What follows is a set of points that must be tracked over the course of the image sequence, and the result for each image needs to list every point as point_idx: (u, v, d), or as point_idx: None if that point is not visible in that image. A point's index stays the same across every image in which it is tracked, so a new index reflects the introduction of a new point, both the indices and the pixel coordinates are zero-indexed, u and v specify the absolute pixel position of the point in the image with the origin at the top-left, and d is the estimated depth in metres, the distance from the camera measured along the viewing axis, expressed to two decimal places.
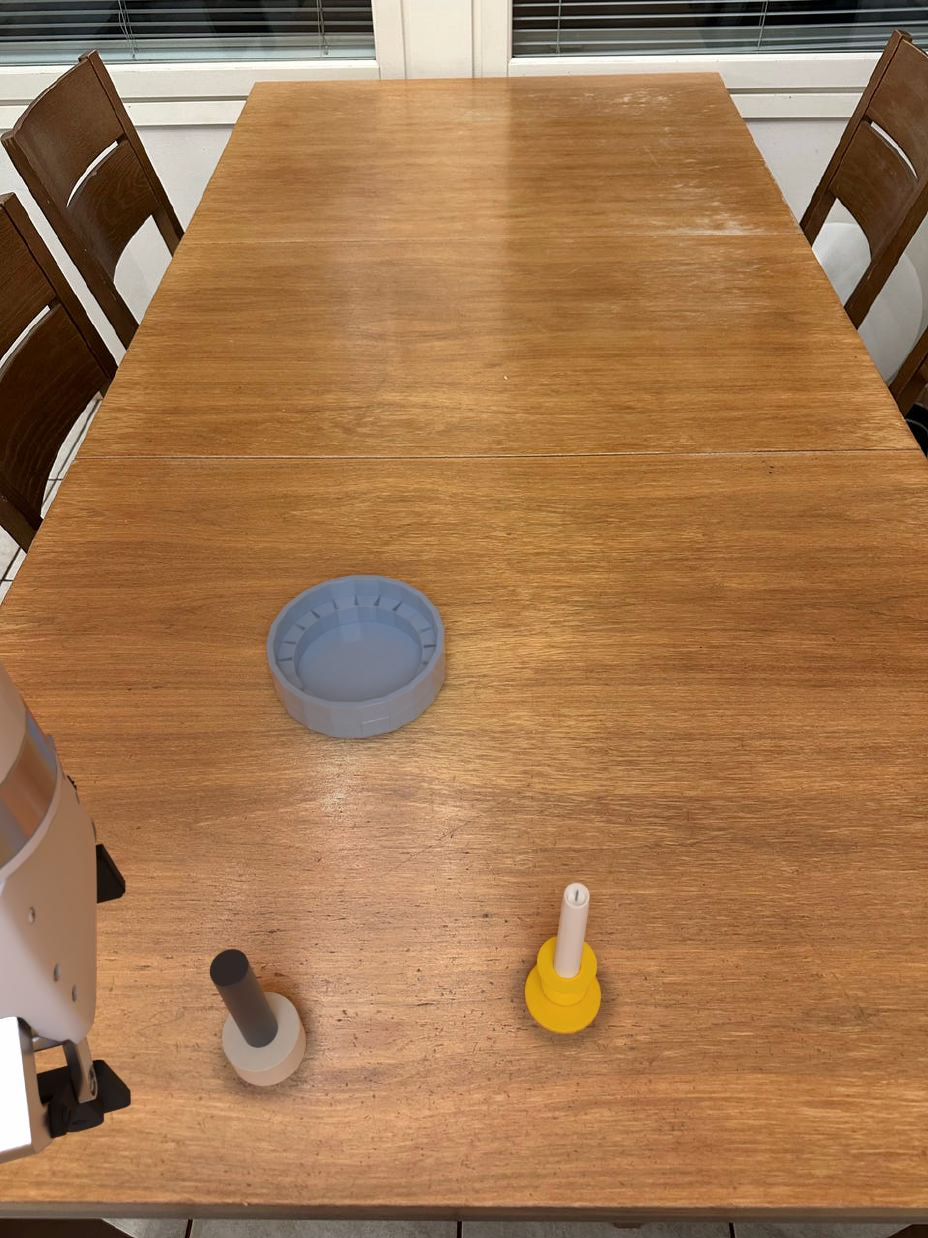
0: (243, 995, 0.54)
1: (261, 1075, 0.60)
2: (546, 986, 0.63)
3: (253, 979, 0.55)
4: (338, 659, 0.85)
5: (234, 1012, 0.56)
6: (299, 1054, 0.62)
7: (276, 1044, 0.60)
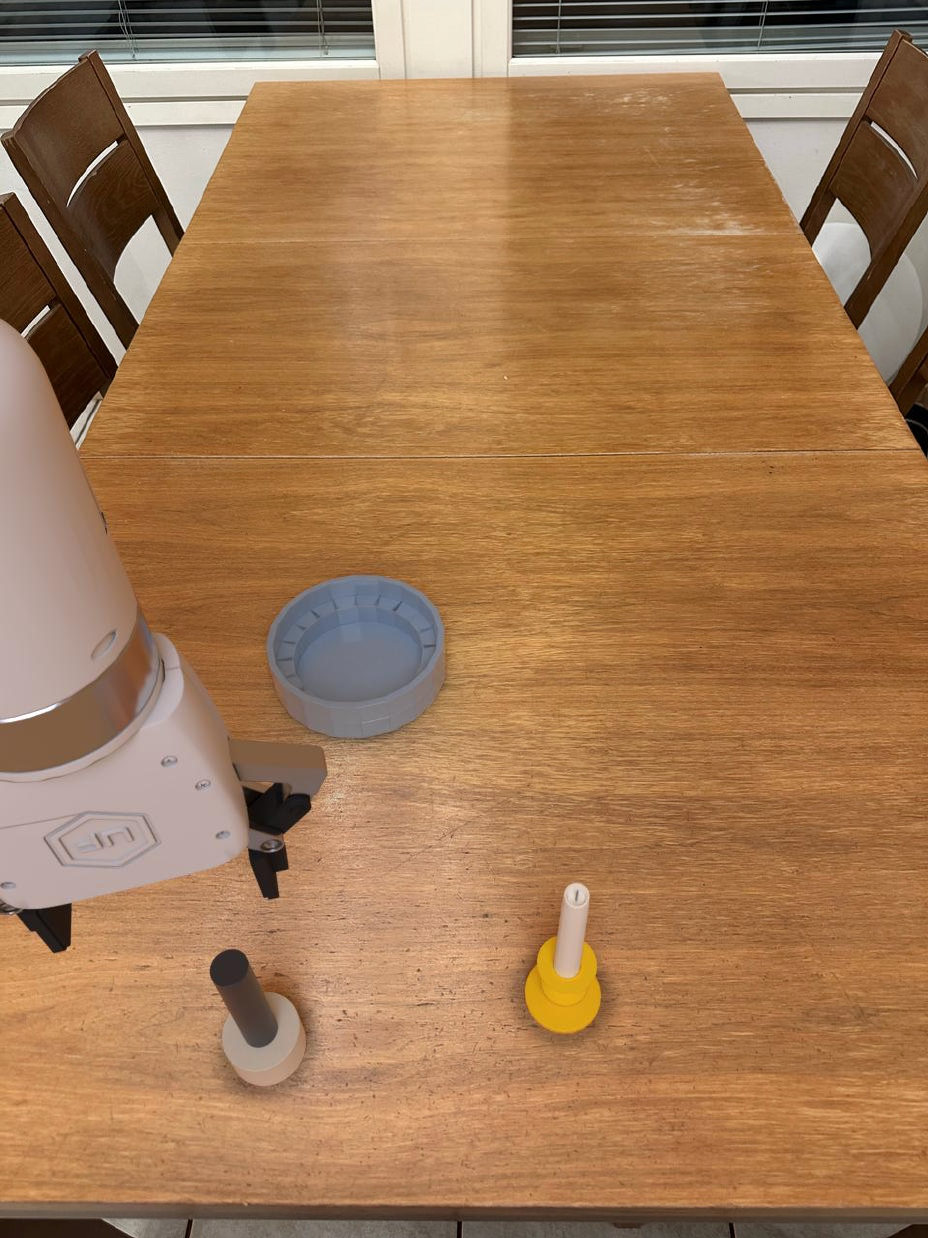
0: (243, 995, 0.54)
1: (261, 1075, 0.60)
2: (546, 986, 0.63)
3: (253, 979, 0.55)
4: (338, 659, 0.85)
5: (234, 1012, 0.56)
6: (299, 1054, 0.62)
7: (276, 1044, 0.60)
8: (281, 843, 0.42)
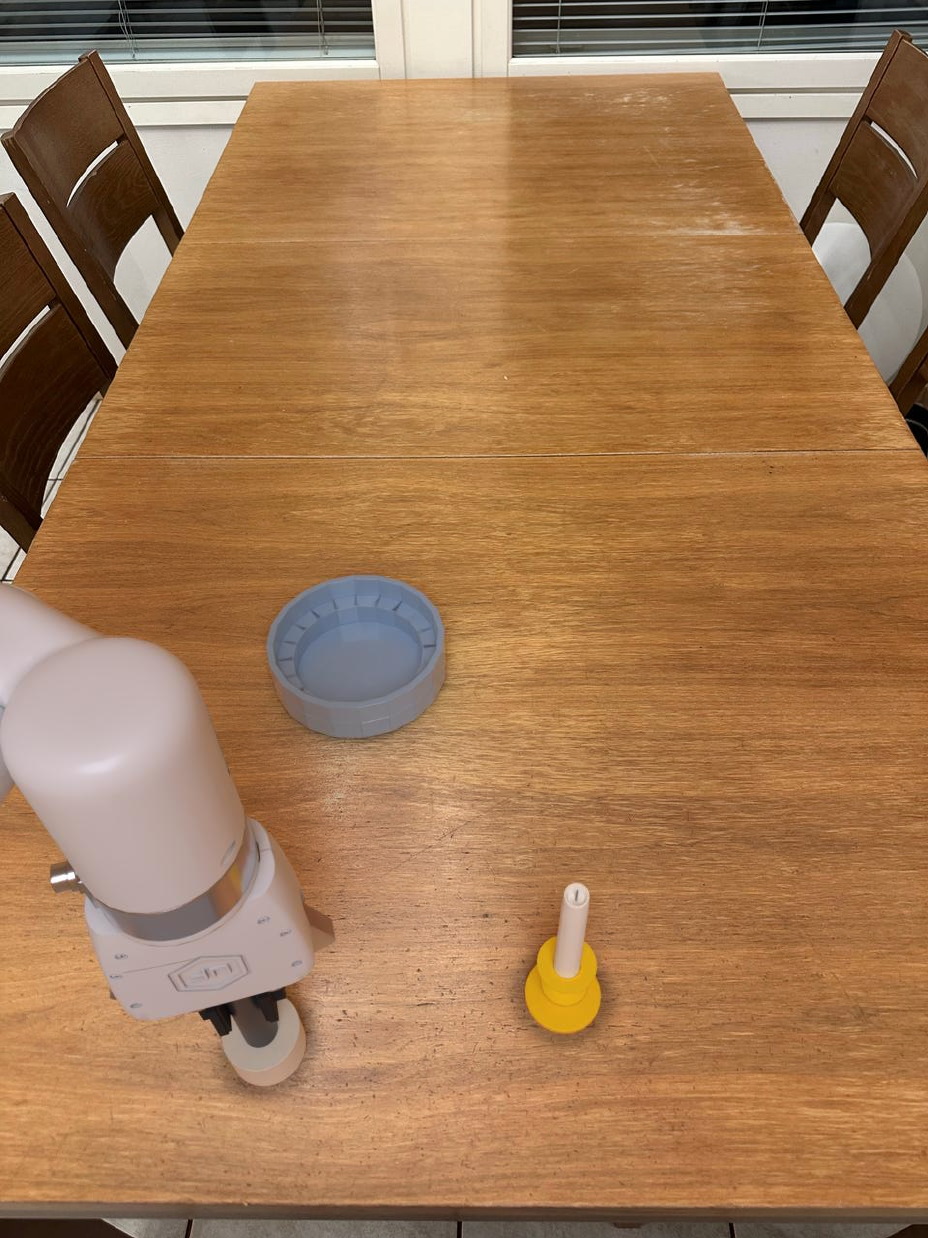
0: None
1: (261, 1075, 0.60)
2: (546, 986, 0.63)
3: None
4: (338, 659, 0.85)
5: (234, 1012, 0.56)
6: (299, 1054, 0.62)
7: (276, 1044, 0.60)
8: None
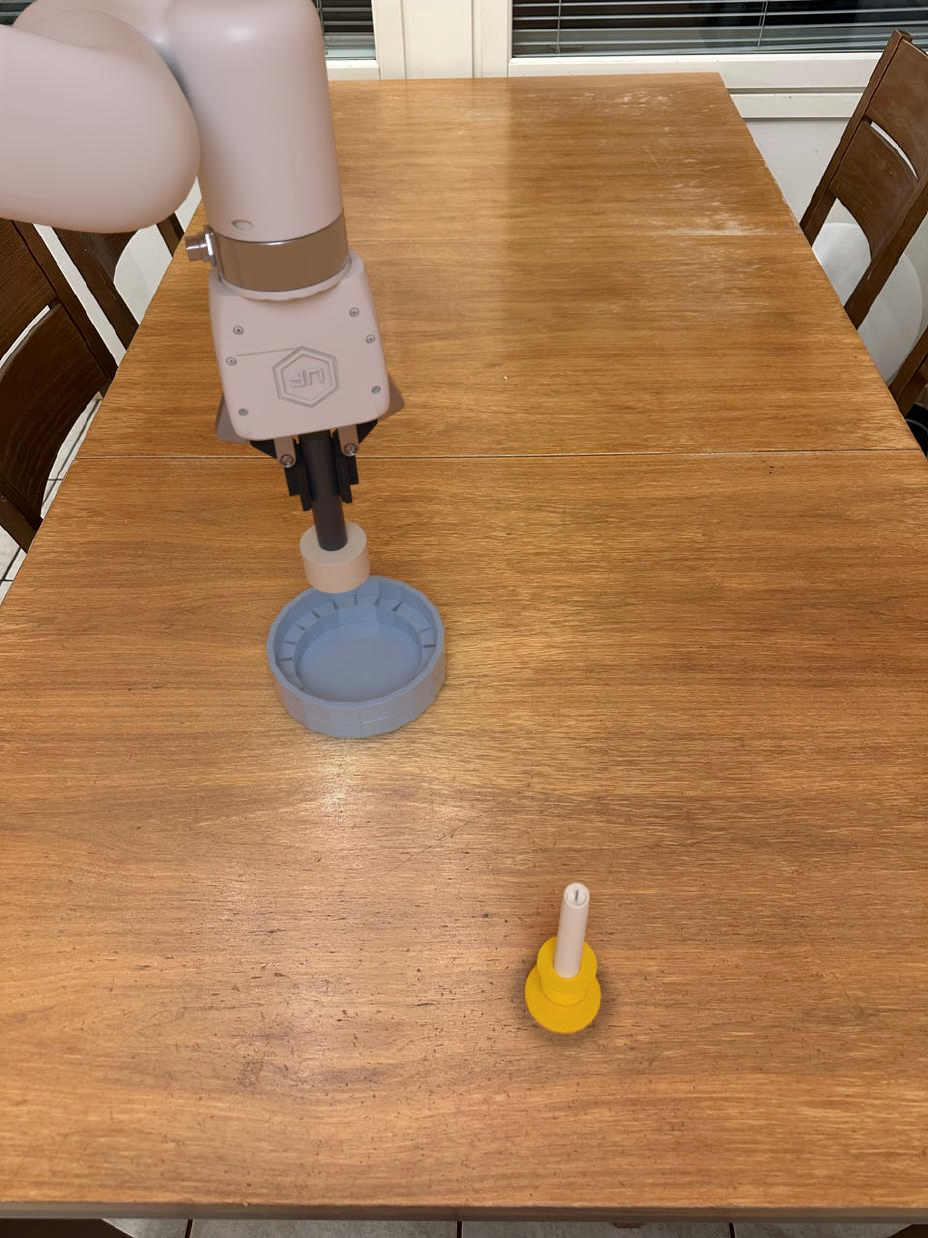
0: (325, 461, 0.64)
1: (334, 572, 0.69)
2: (546, 986, 0.63)
3: (333, 450, 0.64)
4: (338, 659, 0.85)
5: (315, 487, 0.65)
6: (366, 567, 0.71)
7: (347, 548, 0.70)
8: (357, 448, 0.63)
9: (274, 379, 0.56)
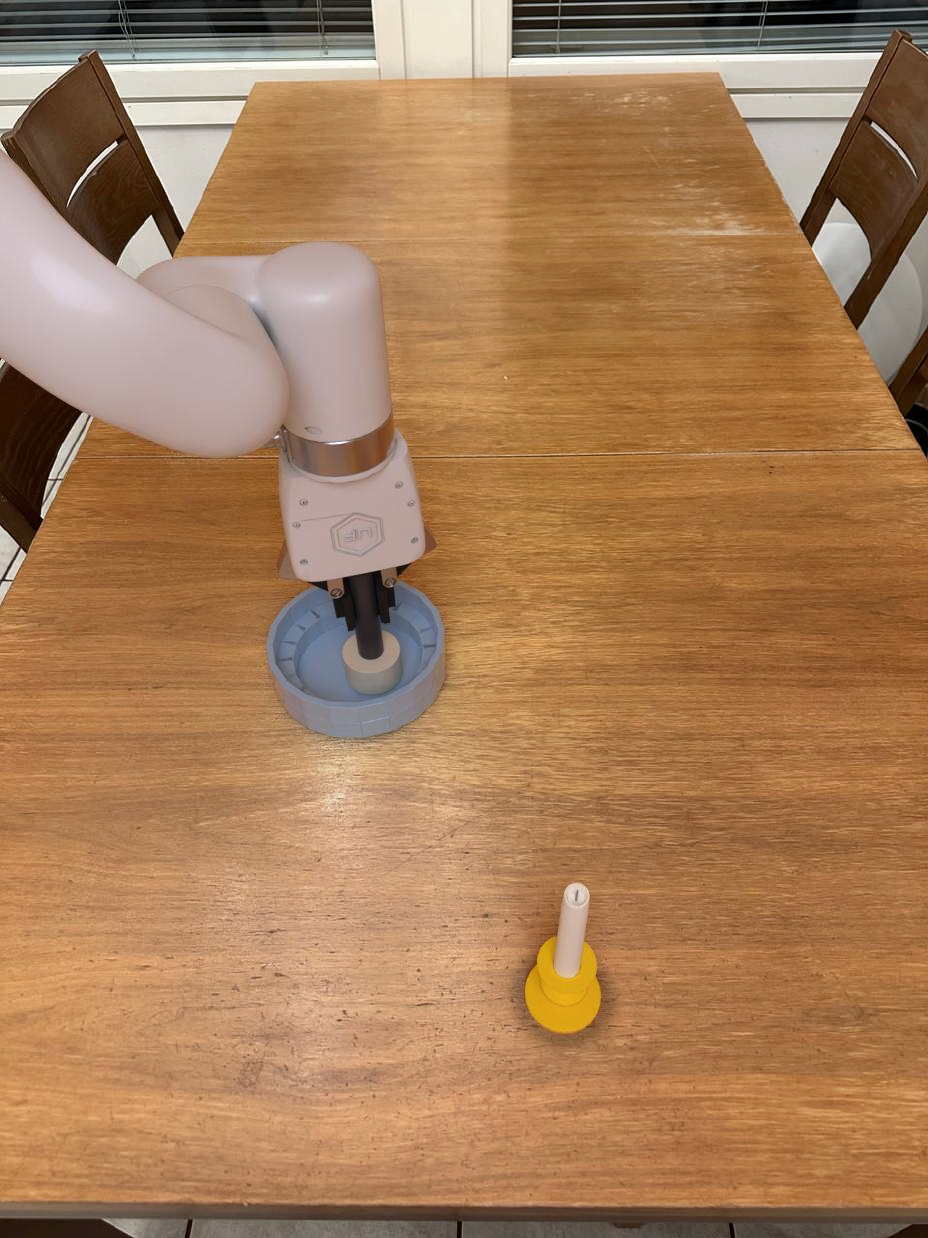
0: (368, 591, 0.75)
1: (373, 679, 0.80)
2: (546, 986, 0.63)
3: (374, 582, 0.75)
4: (338, 659, 0.85)
5: (359, 611, 0.76)
6: (399, 672, 0.82)
7: (383, 657, 0.81)
8: (395, 581, 0.74)
9: (331, 537, 0.67)
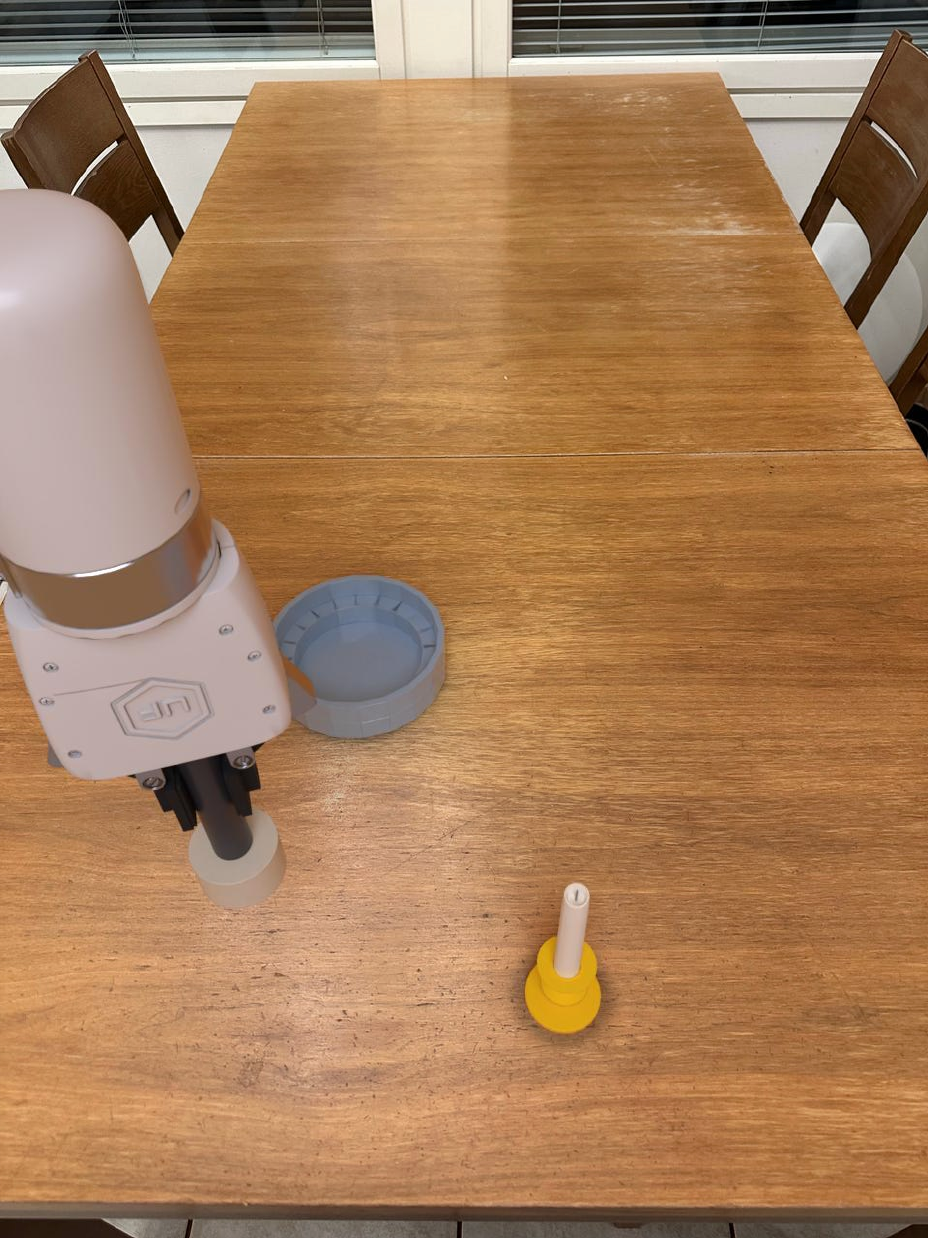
0: (209, 775, 0.46)
1: (233, 891, 0.52)
2: (546, 986, 0.63)
3: (221, 758, 0.47)
4: (338, 659, 0.85)
5: (199, 802, 0.48)
6: (278, 873, 0.54)
7: (251, 856, 0.52)
8: (252, 760, 0.46)
9: (115, 716, 0.39)
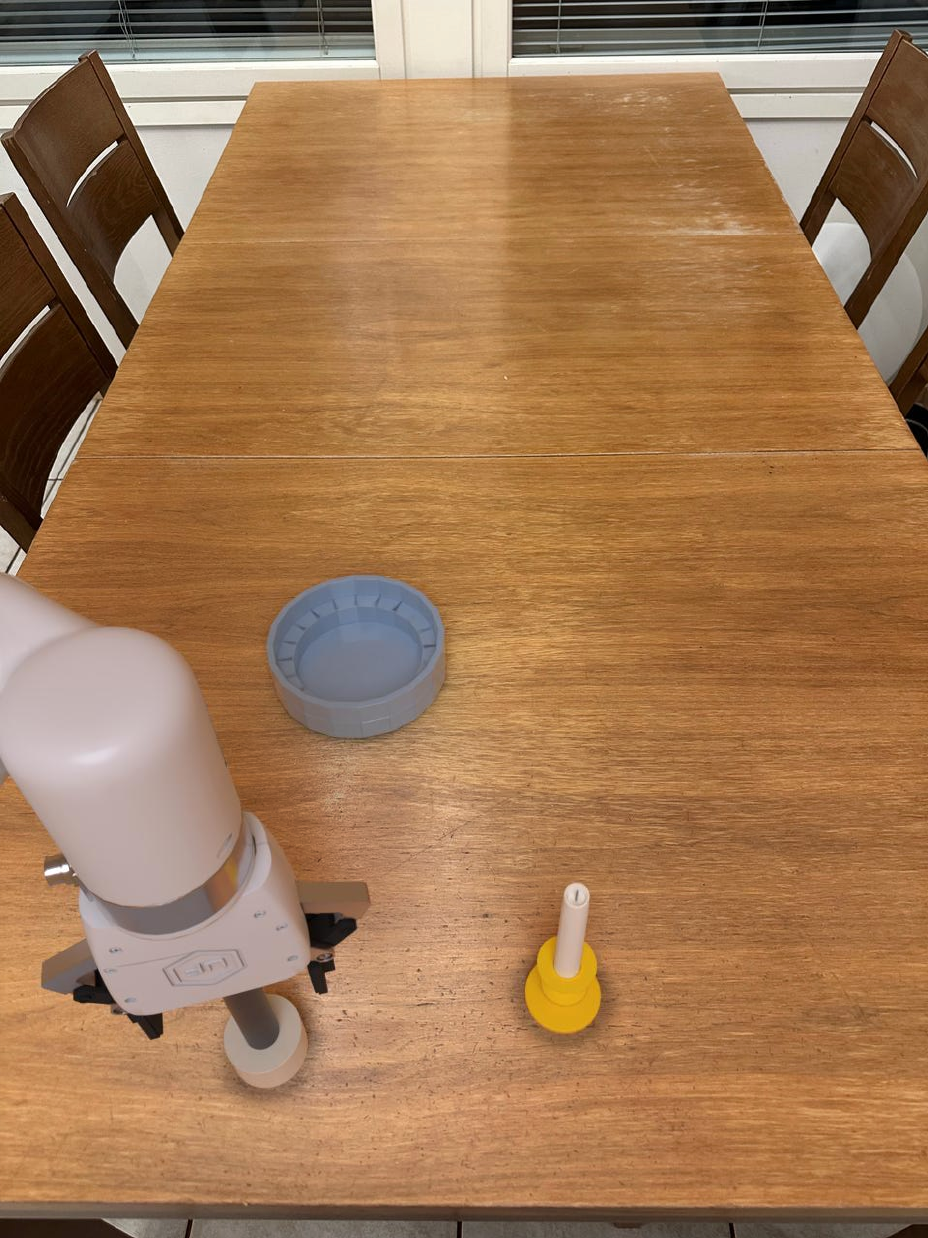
0: (245, 998, 0.54)
1: (263, 1077, 0.60)
2: (546, 986, 0.63)
3: None
4: (338, 659, 0.85)
5: (236, 1014, 0.56)
6: (301, 1057, 0.62)
7: (278, 1046, 0.60)
8: (332, 955, 0.53)
9: (165, 976, 0.47)
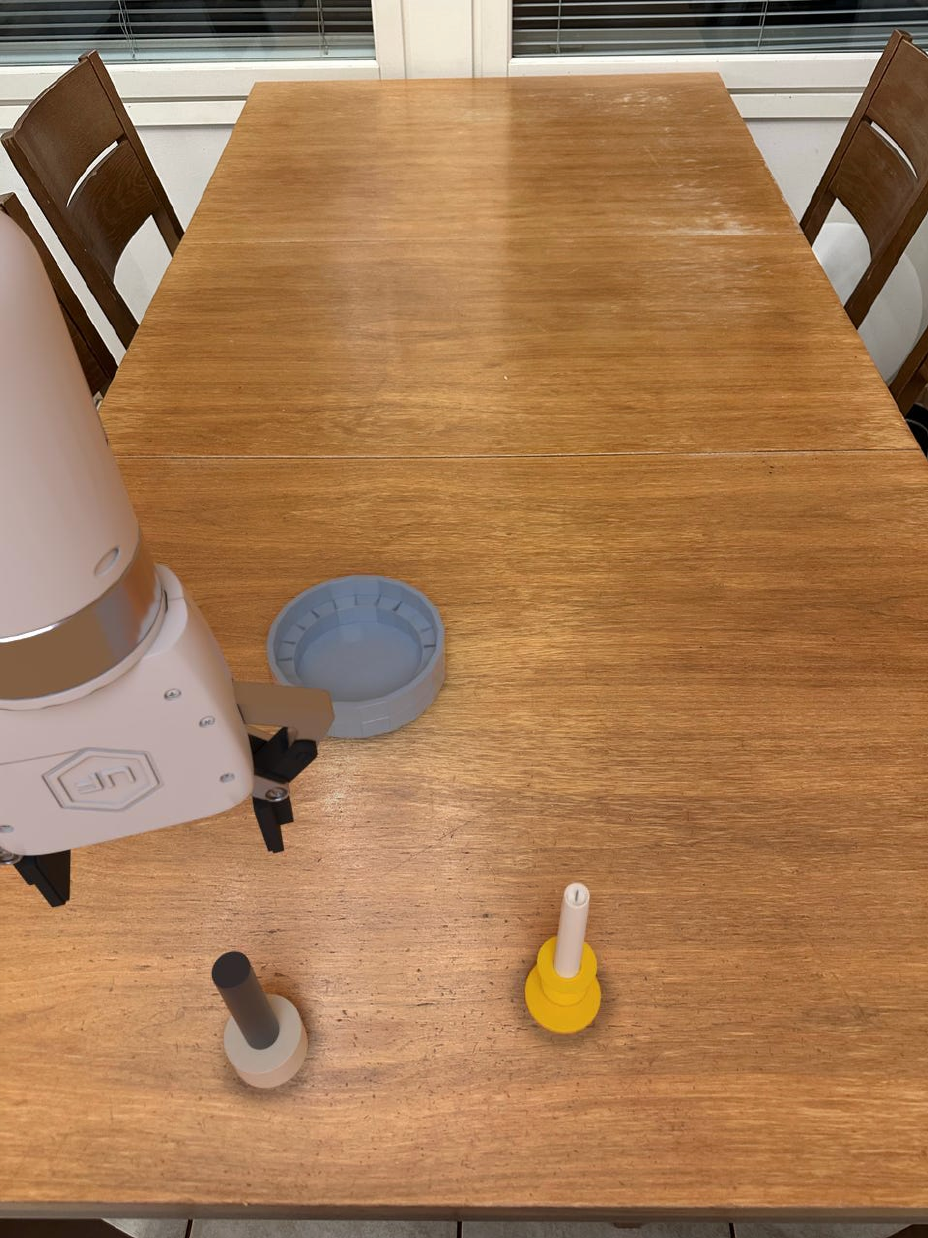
0: (245, 998, 0.54)
1: (263, 1077, 0.60)
2: (546, 986, 0.63)
3: (255, 981, 0.55)
4: (338, 659, 0.85)
5: (236, 1014, 0.56)
6: (301, 1057, 0.62)
7: (278, 1046, 0.60)
8: (286, 792, 0.41)
9: (48, 789, 0.34)
